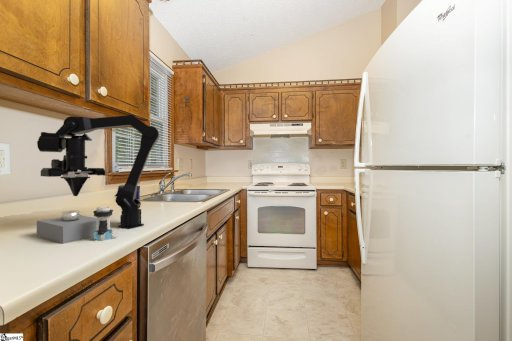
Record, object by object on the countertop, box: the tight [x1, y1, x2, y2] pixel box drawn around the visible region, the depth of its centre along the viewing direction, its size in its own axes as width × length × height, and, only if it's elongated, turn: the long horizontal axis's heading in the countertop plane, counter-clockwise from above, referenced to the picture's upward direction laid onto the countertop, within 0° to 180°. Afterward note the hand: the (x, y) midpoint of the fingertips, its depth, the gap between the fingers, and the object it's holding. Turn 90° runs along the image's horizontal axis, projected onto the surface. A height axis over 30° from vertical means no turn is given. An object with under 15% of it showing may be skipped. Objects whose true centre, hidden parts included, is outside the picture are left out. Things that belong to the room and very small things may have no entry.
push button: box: [92, 206, 118, 242], centre depth 80 cm, size 7×5×10 cm
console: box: [36, 214, 100, 244], centre depth 84 cm, size 12×16×5 cm
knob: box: [61, 210, 81, 221], centre depth 84 cm, size 5×5×8 cm
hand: (75, 196), depth 91 cm, fingers closed
